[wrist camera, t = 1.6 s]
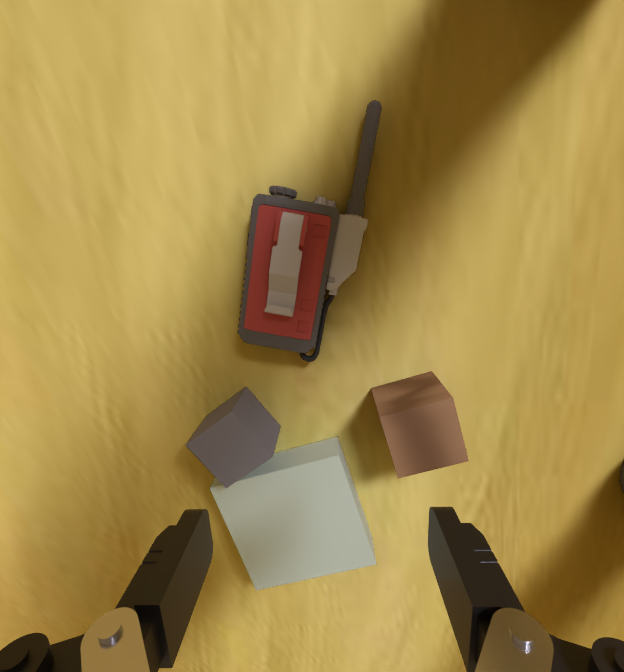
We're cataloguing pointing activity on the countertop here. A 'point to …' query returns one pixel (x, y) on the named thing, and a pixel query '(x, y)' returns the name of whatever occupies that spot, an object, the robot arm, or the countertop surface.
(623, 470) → the thermos
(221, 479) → the charcoal block
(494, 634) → the robot arm
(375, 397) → the walnut cube
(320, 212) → the walkie-talkie
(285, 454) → the pedestal
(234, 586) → the countertop surface
